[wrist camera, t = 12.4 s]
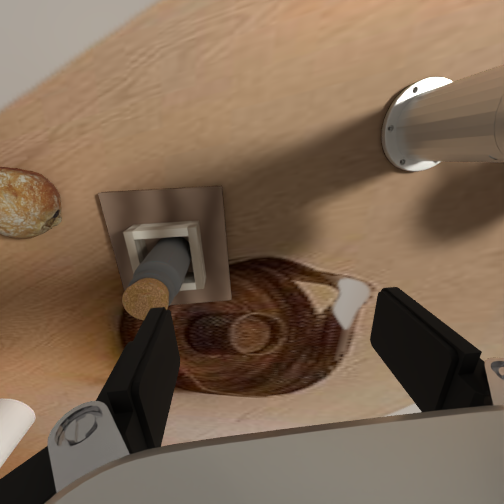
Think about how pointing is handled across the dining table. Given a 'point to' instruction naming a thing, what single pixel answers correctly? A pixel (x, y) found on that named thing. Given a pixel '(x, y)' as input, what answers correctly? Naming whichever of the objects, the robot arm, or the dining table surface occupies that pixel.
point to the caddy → (172, 235)
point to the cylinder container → (13, 425)
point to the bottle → (158, 277)
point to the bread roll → (27, 203)
